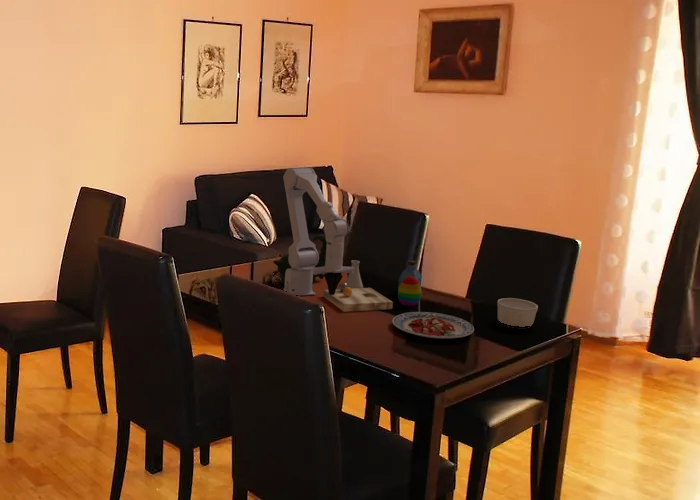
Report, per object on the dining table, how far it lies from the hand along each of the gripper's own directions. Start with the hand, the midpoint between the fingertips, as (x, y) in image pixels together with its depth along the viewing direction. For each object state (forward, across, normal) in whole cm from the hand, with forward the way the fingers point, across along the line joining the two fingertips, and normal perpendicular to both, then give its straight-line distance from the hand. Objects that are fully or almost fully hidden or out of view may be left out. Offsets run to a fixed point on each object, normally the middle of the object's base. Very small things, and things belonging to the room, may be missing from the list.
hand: (331, 294), depth 273 cm
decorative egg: (+4, +28, -4) cm, 28 cm away
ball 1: (-1, +7, +6) cm, 9 cm away
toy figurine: (+4, 0, +29) cm, 29 cm away
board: (+3, +10, 0) cm, 11 cm away
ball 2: (-1, +6, 0) cm, 6 cm away
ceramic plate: (+4, +22, -32) cm, 39 cm away
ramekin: (+4, +54, -31) cm, 62 cm away
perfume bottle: (+4, +35, +9) cm, 36 cm away
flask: (+4, +17, +19) cm, 26 cm away
